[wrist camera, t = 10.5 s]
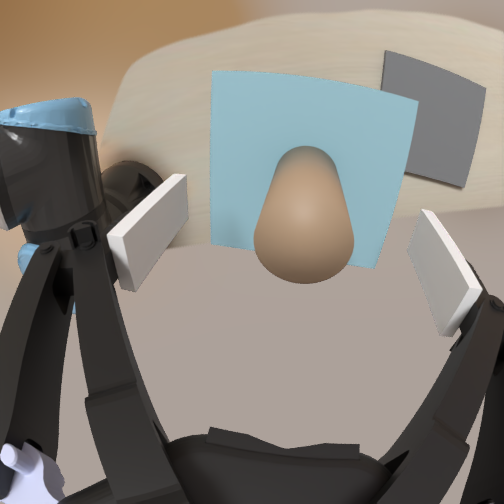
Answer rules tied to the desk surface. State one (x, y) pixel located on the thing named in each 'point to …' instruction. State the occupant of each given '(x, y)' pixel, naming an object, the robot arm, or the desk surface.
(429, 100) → the mat
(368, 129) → the lid
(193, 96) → the desk surface
